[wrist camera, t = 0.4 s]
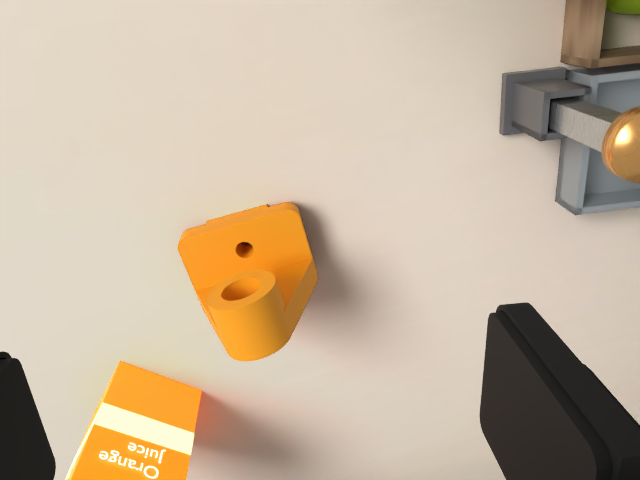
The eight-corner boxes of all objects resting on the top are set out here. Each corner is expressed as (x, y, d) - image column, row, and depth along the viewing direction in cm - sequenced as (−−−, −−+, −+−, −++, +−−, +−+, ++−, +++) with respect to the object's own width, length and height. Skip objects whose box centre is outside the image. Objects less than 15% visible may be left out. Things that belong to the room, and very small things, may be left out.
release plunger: (521, 81, 41) (618, 113, 30) (576, 75, 41) (694, 104, 30) (517, 137, 43) (608, 187, 31) (570, 131, 43) (679, 178, 32)
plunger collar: (502, 73, 44) (535, 83, 38) (561, 66, 44) (602, 76, 38) (499, 133, 46) (530, 151, 40) (555, 126, 46) (594, 143, 40)
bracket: (295, 196, 47) (303, 256, 36) (316, 265, 50) (329, 340, 39) (179, 228, 47) (151, 297, 36) (206, 295, 50) (189, 377, 39)
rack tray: (568, 70, 44) (591, 75, 41) (691, 56, 44) (724, 60, 41) (555, 201, 49) (575, 214, 46) (666, 187, 49) (693, 200, 46)
